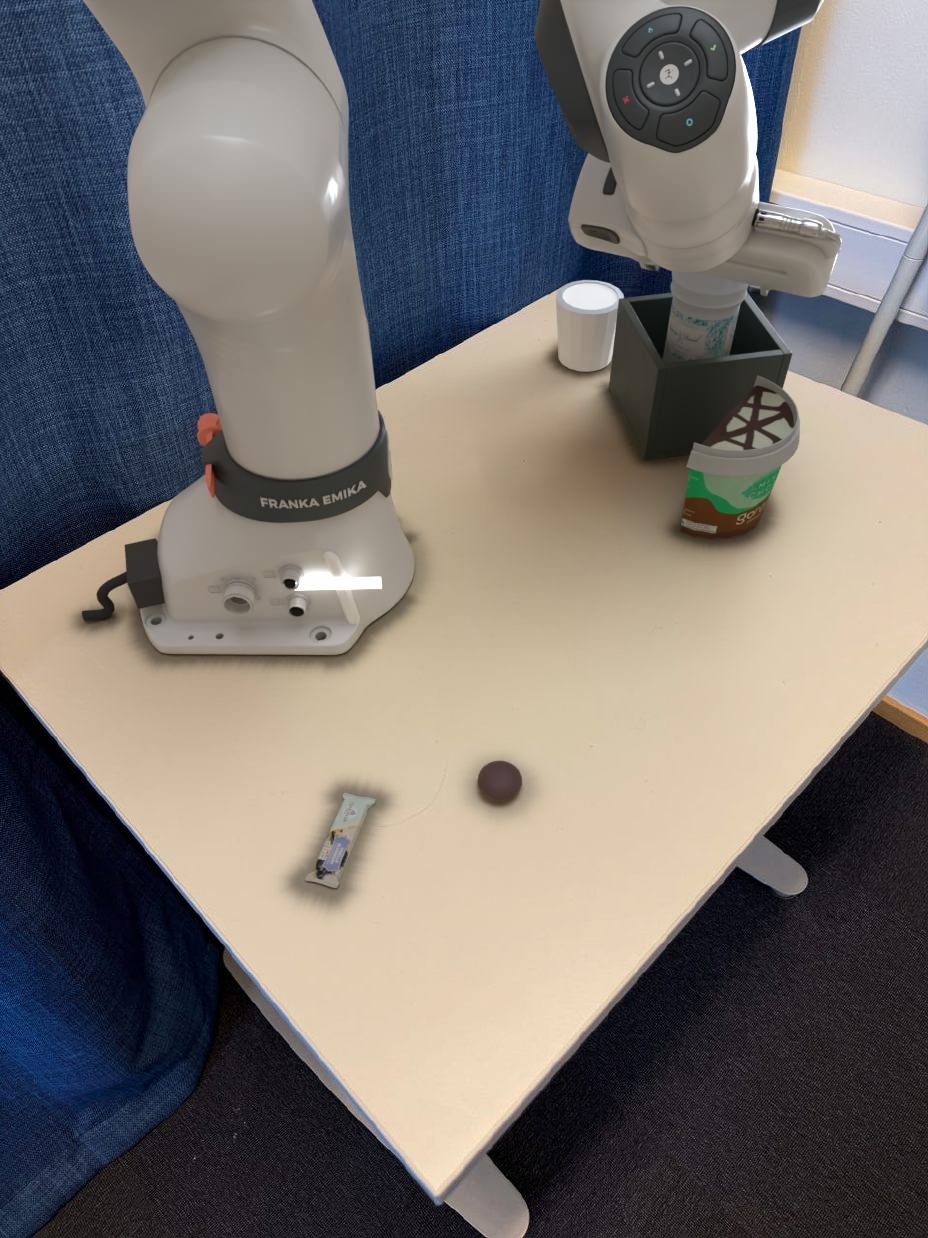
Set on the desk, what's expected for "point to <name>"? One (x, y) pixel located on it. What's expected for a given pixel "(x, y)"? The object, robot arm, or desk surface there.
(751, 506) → the food container
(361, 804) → the granola bar
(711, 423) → the bin
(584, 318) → the white cylinder
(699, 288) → the bottle
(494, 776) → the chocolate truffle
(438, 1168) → the desk surface
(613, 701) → the desk surface
